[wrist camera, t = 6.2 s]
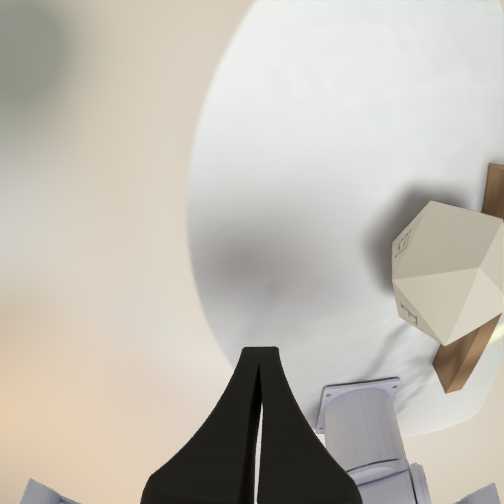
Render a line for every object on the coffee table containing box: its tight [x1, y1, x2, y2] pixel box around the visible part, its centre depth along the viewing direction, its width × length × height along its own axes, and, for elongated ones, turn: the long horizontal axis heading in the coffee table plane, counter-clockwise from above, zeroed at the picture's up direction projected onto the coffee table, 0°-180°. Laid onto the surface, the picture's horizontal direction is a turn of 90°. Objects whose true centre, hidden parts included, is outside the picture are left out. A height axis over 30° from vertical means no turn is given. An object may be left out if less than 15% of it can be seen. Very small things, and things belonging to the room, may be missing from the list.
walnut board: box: [433, 163, 504, 394], centre depth 19 cm, size 20×2×4 cm, turn 4°
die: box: [392, 200, 504, 346], centre depth 16 cm, size 8×9×10 cm
